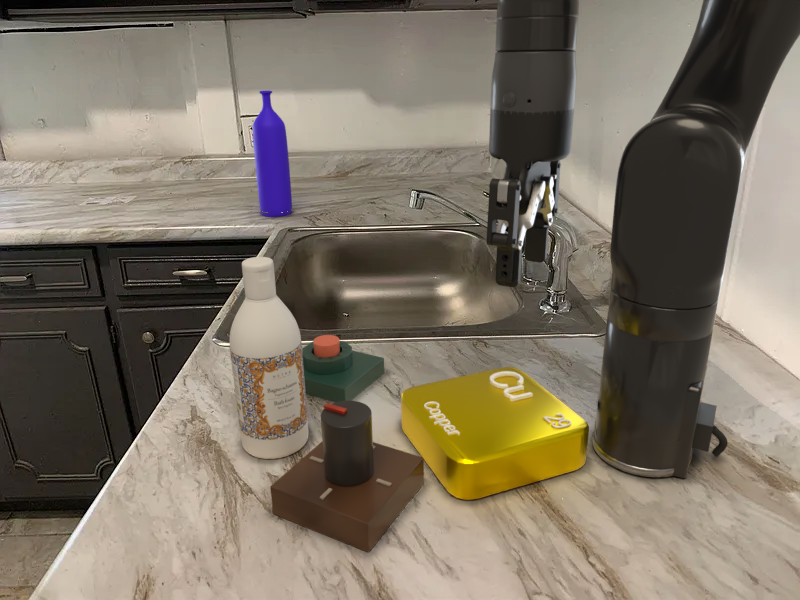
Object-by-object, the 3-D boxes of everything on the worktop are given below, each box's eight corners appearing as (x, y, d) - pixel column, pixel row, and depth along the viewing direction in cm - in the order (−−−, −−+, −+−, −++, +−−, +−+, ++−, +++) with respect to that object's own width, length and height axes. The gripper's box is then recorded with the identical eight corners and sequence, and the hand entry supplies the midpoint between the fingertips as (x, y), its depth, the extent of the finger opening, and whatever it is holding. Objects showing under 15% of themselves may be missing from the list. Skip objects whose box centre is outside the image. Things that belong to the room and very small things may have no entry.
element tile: (395, 423, 70) (394, 384, 68) (513, 395, 75) (515, 359, 73) (456, 507, 57) (457, 462, 55) (594, 466, 62) (599, 424, 60)
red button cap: (345, 350, 79) (344, 337, 78) (330, 360, 76) (329, 347, 75) (324, 345, 80) (323, 332, 79) (308, 355, 78) (307, 342, 77)
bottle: (277, 208, 168) (266, 89, 157) (299, 212, 163) (290, 90, 152) (253, 214, 162) (240, 91, 151) (276, 218, 157) (264, 92, 146)
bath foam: (257, 470, 62) (234, 278, 55) (232, 437, 68) (209, 258, 60) (320, 446, 66) (306, 263, 58) (292, 417, 71) (276, 246, 64)
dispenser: (384, 373, 81) (383, 344, 79) (345, 405, 73) (343, 375, 72) (314, 355, 86) (312, 328, 84) (271, 384, 78) (268, 355, 77)
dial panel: (424, 484, 60) (424, 455, 59) (368, 553, 52) (367, 521, 50) (336, 455, 64) (334, 428, 63) (272, 514, 56) (269, 484, 55)
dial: (382, 464, 58) (380, 404, 55) (356, 492, 54) (353, 429, 52) (342, 451, 60) (339, 393, 57) (314, 477, 56) (310, 416, 54)
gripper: (549, 112, 50) (536, 301, 56) (592, 99, 62) (577, 258, 68) (462, 109, 54) (459, 288, 60) (518, 98, 65) (510, 249, 71)
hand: (522, 272), depth 64 cm, fingers open, 8 cm apart
